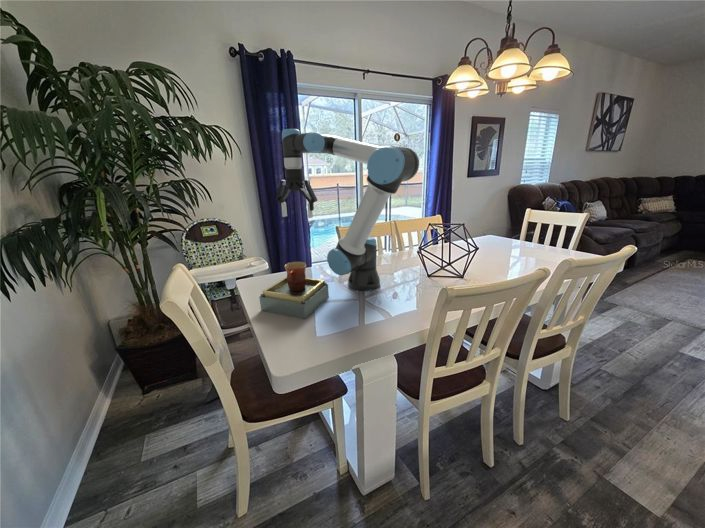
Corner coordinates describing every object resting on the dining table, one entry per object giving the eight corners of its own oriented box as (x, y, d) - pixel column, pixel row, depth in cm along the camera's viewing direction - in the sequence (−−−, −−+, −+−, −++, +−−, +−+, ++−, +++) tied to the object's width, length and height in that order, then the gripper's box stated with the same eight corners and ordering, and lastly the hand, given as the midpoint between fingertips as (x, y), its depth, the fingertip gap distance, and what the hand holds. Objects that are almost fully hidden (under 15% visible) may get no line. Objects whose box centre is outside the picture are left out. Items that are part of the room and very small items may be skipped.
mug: (291, 283, 123) (289, 261, 120) (311, 285, 122) (309, 262, 118) (279, 295, 112) (277, 271, 109) (300, 297, 110) (298, 272, 107)
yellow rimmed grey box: (328, 298, 125) (327, 279, 122) (305, 321, 107) (303, 299, 104) (283, 291, 132) (281, 273, 130) (255, 311, 115) (252, 290, 112)
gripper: (323, 167, 123) (325, 217, 130) (274, 168, 132) (279, 214, 139) (314, 168, 117) (317, 219, 124) (264, 169, 125) (269, 217, 132)
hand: (297, 217), depth 131 cm, fingers open, 13 cm apart
